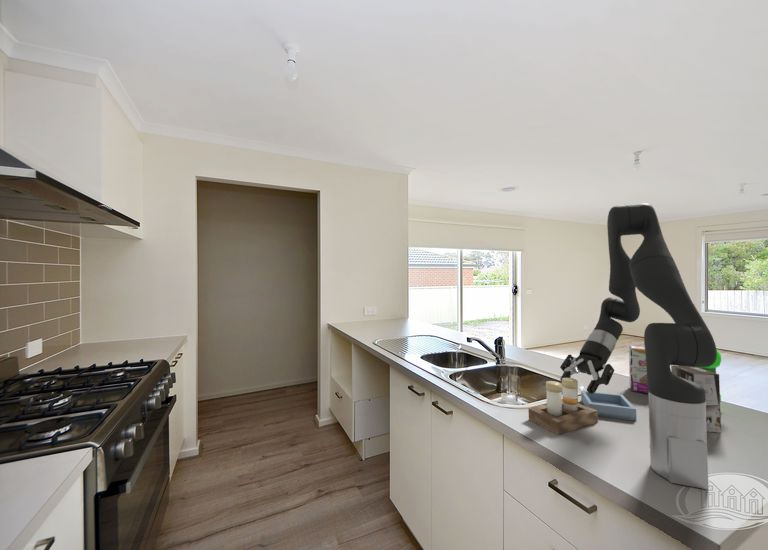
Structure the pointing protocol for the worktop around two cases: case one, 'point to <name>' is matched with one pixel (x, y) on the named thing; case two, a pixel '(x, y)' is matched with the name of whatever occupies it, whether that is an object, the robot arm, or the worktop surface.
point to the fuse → (554, 398)
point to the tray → (609, 405)
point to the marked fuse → (570, 394)
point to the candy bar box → (638, 369)
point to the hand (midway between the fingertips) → (575, 387)
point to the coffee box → (711, 390)
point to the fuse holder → (563, 418)
